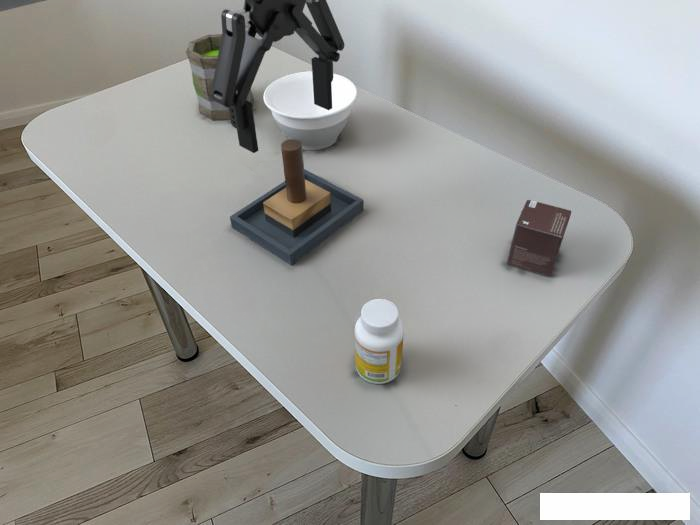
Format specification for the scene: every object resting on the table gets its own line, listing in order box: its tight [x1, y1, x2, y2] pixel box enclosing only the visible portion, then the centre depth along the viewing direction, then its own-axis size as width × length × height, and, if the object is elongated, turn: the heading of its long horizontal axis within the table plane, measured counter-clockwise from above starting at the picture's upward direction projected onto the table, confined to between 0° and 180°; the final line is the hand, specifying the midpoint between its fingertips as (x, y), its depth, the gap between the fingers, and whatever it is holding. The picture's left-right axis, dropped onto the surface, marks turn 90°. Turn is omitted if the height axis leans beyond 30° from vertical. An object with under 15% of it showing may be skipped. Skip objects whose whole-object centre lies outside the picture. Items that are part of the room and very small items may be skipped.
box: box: [506, 199, 572, 277], centre depth 77 cm, size 6×6×7 cm
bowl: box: [263, 70, 359, 151], centre depth 100 cm, size 16×16×9 cm
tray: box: [229, 168, 365, 266], centre depth 86 cm, size 16×13×2 cm
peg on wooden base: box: [263, 138, 331, 238], centre depth 82 cm, size 8×6×12 cm
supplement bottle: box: [354, 298, 405, 385], centre depth 64 cm, size 5×5×10 cm
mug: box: [185, 33, 255, 121], centre depth 105 cm, size 16×11×12 cm
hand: (287, 126), depth 75 cm, fingers open, 13 cm apart
